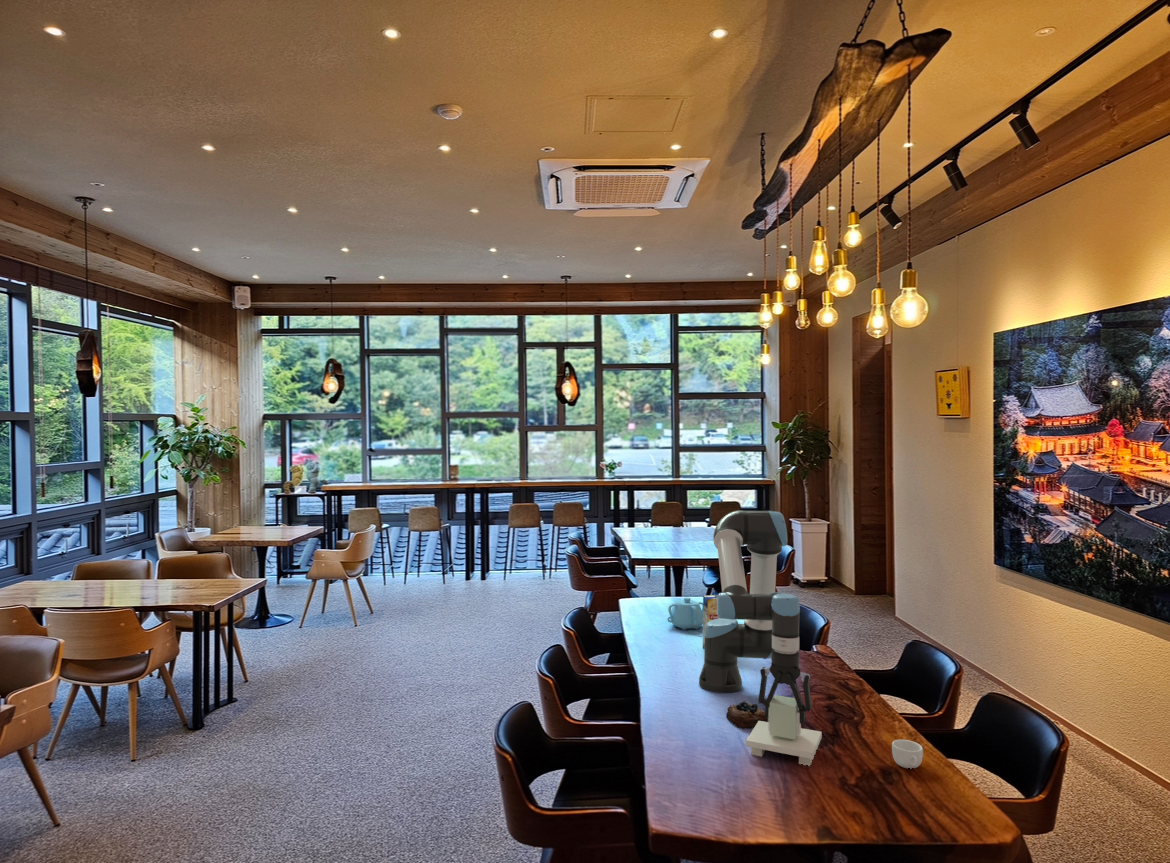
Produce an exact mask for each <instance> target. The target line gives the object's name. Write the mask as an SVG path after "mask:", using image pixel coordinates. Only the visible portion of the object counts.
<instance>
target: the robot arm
mask: <svg viewBox="0 0 1170 863" xmlns="http://www.w3.org/2000/svg"><path fill="white" fill-rule="evenodd" d="M713 544H714V547H715V548H716V549H717V555H718V556H717V557H718V563H719V565H718V566H719V573H720V576H719V577H720V585H721V592H719V593H718V594H716V595H717V615H718V617H720V618H719V619H714V620H711V621H709V622H707V623H706V625H705V634H704V637H705V647H704V649H703V652H704V655H703V656H704V657H703V658H704V660H703V664H702V665H703V666H702V669H701V671H700V674H699V677H698V685H699V687H700V688H702V689H704V690H706V691H710V692H714V693H723V694H725V693H726V694H727V693H729V694H730V693H734V692H739V691H740V690H742V689H743V679H742V676H741V674H740V669H739V666H738V658H741V659H742V658H743V659H763V660H767V659H771V663H770V667H765V666H762V667H761V668H760V670H759V672H760V677H761V679H760V687H759V692H758V693H759V694H758V700H757V701H758V703H759V704H762V705H763V706H764V712H765V717H767V718H768V722H769V723H768V731H770V702H771V700H772V699H773V697H774V696H775V695H776V694H775V693H776V692H777V691H776V690H777V688H778V686H779V684H781V685H782V684H785V685H787V686H789V687H790V689H791V691H792V693H793V698H795V700H796V703H797V706H798V708H799V709H798V711H797V728H796V736H799V735H800V733H801V728H802V724H803V725H804V724H805V721H806V719H805V717H806V713H805V712H810V711H811V709H812V706H813V705H812V697H811V688H810V679H811V673H810V672H807V673H806V672H802V671H801V669H800V653H799V650H800V612H801V606H800V598H799V597H798V596H797V595H795V594H792V593H782V592H779V591H776V584H777V583H776V581H777V562H778V559H777V558H778V555H779V554H781V553H782V552H783V547H786V546H788V530H787V525H786V519H785V517H784V514H782V513H781V512H780V511H773V510H772V511H771V510H734V511H731V512H729V513H727V514H726V515H725V516H723V517H722V518H721V519H719V521H718V523H717V524H716V526H715V528H714V531H713ZM743 545H745V546H746V548H747V551H749V553H751V558H750V559H751V560H750V562H751V563H750V582H749V593H748V588H747V587H748V586H747V582H746V575H745V568H744V562H743V554H742V548H741V547H742V546H743ZM738 620H744V622H743V623H739V622H738ZM770 674H771V675H772V677H773V678H774V680H773V682H772V685H771V688H770V690H769V693H768V695H767V697H766V692H767V691H766V690H767V683H768V676H769V675H770ZM799 677H800V678H801V680H800V681H802V682H803V683H802V684H803V686H802V687H803V694H804V695H803V696H804V701H803V697H802V694H801V692H800V690H799V686H798V682H797V679H798V678H799ZM804 702H805V703H804Z"/></svg>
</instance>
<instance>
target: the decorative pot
mask: <svg viewBox="0 0 1170 863" xmlns="http://www.w3.org/2000/svg"><path fill="white" fill-rule="evenodd" d="M701 606H702V608H701ZM667 609H668V614H669V616H668V617H667V619H666V621H667V622H668V623H672V625H673V626H675V627H676V628H680V630H681V629H682V631H685V630H687V629H695V630H698V629H700V628H701V627H703V601H702V602H701V601H699V602H698V601H696V600H692V599H691V597H683V599H677V600H675V601H674V603H671V604H670V605H669V606H668V607H667Z"/></svg>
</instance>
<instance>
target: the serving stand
mask: <svg viewBox="0 0 1170 863" xmlns="http://www.w3.org/2000/svg"><path fill="white" fill-rule="evenodd" d="M768 723H769V721H768V722H764V721H758V723H757V724H756V726H755V727H754V728H752V730H751V732H750V733H749V735H748V737H747V738H746V739H745V747H749V748H750V752H751V753H750V755H752V756H756V757H763V756H764V754H765V752H766V751H770V752H774V753H778V754H779V753H780V754H783V755H785V754H786V755H790V756H795V757H798V764H799V765H801V764H803V765H802V766H806V765H808V766H807V767H811V766H810V765H812V762H813V761H814V757H815V756H816V752H817V751H816V750H818V748H819V745H820V742H821V740H822V738H823V735H822V734H823V733H822V731H820V730H814V729H808V728H802V727H801V733H800V735H799V736H797V737H796V739H795V740H794V739H789V738H783V737H778V736H773V735H770V731H768ZM814 755H815V756H814ZM812 760H813V761H812Z"/></svg>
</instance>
